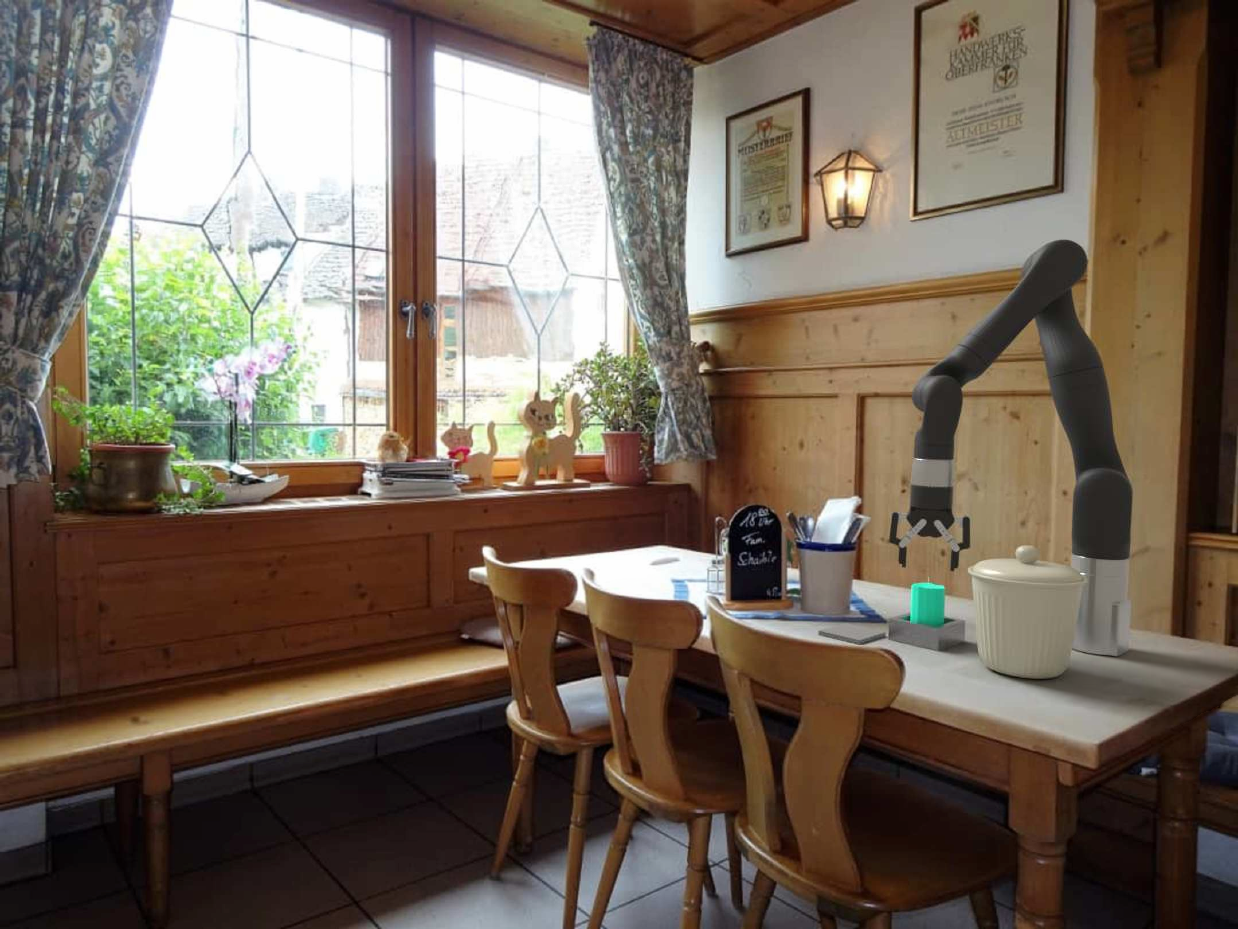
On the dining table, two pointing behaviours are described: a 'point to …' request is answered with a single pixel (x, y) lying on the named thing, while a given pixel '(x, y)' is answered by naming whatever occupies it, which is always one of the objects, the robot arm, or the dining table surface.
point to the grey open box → (927, 632)
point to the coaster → (852, 633)
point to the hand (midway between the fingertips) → (927, 568)
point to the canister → (1026, 614)
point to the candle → (927, 604)
